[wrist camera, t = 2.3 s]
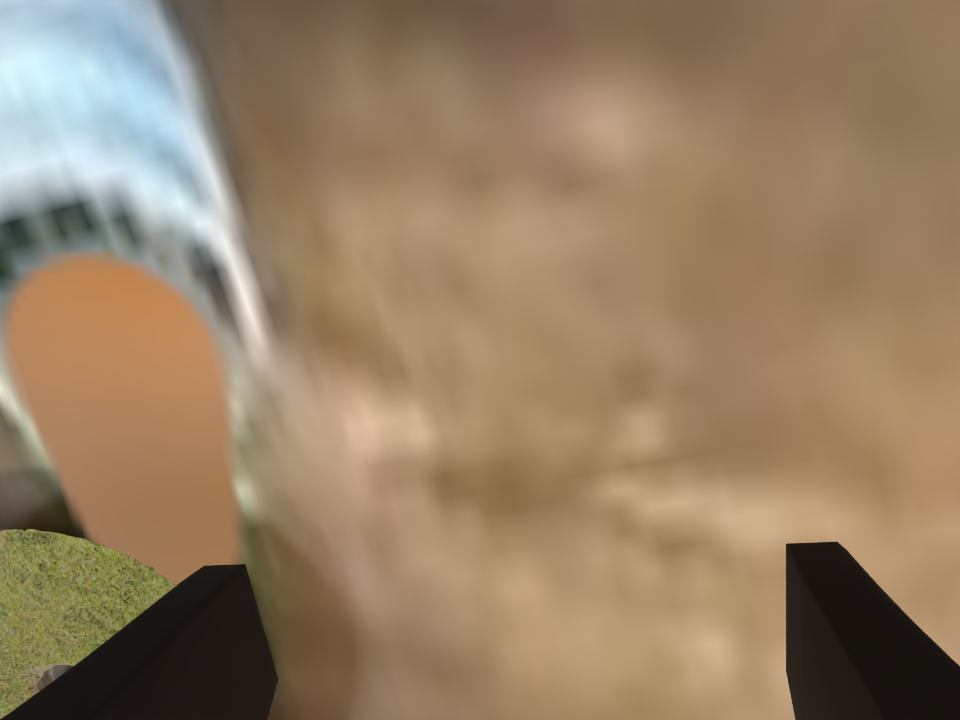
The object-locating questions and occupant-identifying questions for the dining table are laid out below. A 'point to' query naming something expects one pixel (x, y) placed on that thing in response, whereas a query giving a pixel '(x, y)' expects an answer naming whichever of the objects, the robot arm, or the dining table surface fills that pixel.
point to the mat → (62, 605)
